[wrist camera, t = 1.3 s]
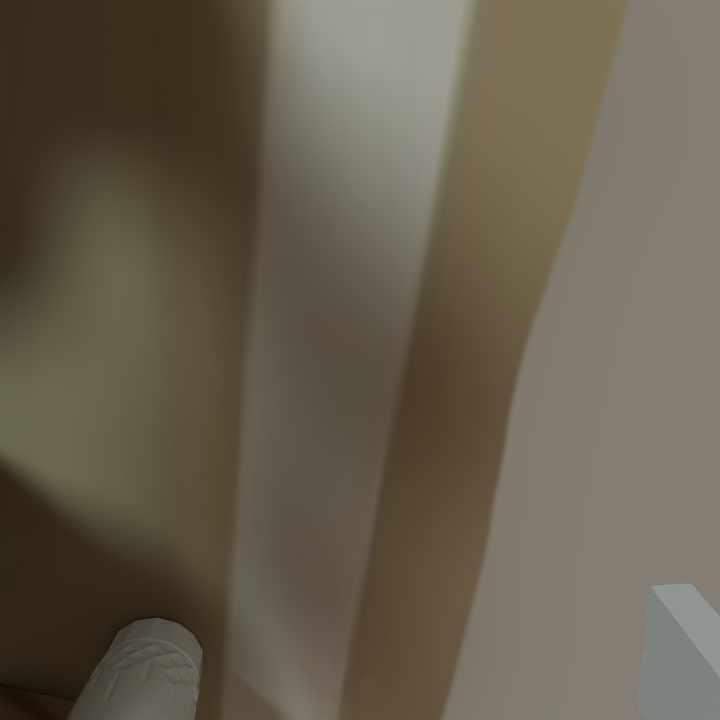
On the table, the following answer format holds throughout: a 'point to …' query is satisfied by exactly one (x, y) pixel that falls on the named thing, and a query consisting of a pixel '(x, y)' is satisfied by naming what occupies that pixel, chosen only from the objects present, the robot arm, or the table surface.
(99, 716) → the white cup
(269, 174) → the table surface
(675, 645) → the robot arm
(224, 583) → the table surface
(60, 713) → the walnut block
